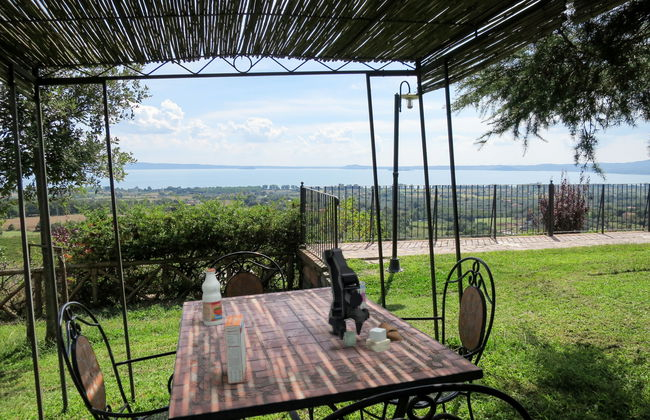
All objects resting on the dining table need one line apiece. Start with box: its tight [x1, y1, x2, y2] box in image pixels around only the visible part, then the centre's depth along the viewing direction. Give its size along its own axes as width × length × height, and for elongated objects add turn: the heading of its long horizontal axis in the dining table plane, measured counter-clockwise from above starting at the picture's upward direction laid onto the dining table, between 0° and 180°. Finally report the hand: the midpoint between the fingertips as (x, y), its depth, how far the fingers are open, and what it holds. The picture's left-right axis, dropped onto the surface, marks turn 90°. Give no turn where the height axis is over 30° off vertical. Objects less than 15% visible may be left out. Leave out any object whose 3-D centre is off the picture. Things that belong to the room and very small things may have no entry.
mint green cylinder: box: [343, 330, 357, 347], centre depth 204 cm, size 5×5×5 cm
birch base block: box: [365, 337, 391, 353], centre depth 197 cm, size 7×7×4 cm
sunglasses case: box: [378, 322, 404, 342], centre depth 214 cm, size 18×7×7 cm
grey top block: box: [368, 327, 386, 342], centre depth 197 cm, size 5×5×4 cm
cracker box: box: [223, 314, 248, 385], centre depth 174 cm, size 14×6×21 cm, turn 5°
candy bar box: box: [349, 280, 367, 309], centre depth 255 cm, size 11×5×16 cm, turn 41°
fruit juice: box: [201, 267, 223, 327], centre depth 244 cm, size 9×9×28 cm
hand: (350, 337), depth 204 cm, fingers open, 9 cm apart
